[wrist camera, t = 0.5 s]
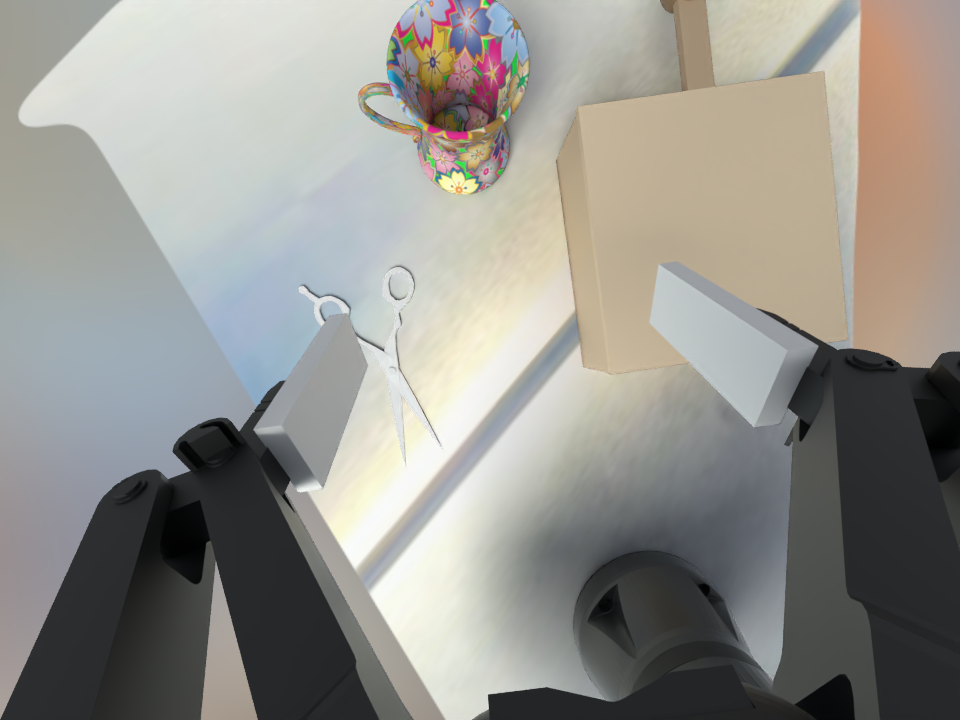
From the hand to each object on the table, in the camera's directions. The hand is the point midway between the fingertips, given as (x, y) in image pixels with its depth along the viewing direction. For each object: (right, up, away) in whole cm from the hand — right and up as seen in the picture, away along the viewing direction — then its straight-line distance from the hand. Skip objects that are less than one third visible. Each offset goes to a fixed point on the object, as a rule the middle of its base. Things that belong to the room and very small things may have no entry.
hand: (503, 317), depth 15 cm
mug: (-4, +18, +18) cm, 26 cm away
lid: (+16, +13, +13) cm, 24 cm away
